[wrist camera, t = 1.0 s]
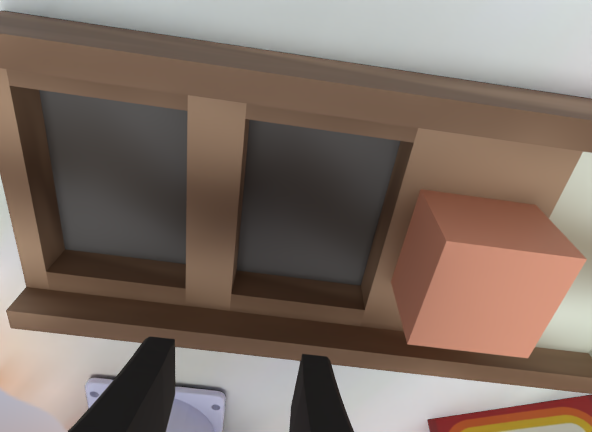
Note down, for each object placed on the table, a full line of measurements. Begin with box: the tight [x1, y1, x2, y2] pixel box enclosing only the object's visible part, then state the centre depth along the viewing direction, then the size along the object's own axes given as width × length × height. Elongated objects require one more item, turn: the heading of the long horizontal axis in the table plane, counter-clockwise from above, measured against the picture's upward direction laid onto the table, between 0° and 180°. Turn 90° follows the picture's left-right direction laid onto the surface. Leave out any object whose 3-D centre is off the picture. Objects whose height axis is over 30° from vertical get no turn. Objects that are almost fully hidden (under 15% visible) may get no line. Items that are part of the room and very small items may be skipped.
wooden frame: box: [0, 11, 592, 394], centre depth 17 cm, size 12×27×4 cm, turn 82°
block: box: [391, 189, 587, 358], centre depth 16 cm, size 4×4×4 cm
